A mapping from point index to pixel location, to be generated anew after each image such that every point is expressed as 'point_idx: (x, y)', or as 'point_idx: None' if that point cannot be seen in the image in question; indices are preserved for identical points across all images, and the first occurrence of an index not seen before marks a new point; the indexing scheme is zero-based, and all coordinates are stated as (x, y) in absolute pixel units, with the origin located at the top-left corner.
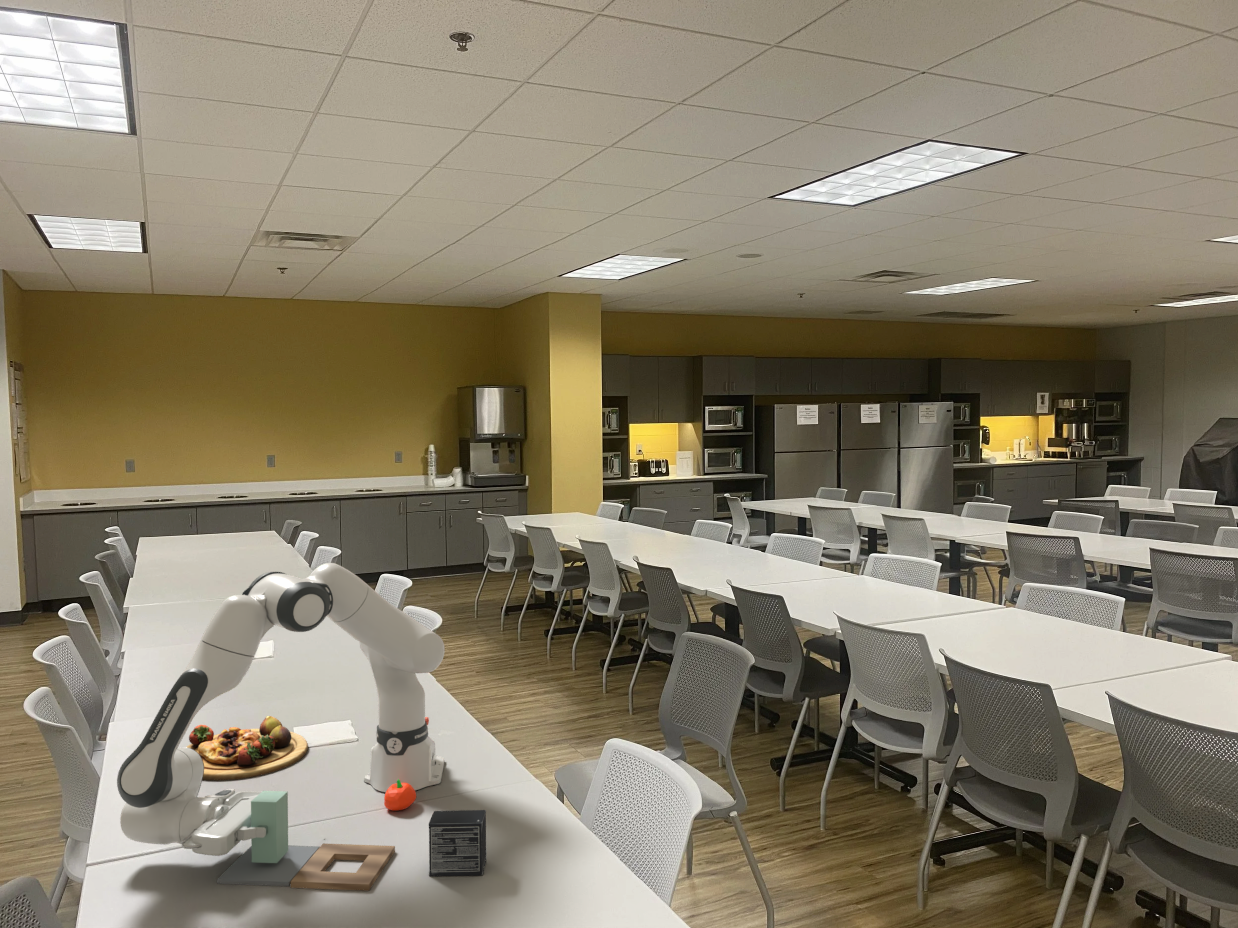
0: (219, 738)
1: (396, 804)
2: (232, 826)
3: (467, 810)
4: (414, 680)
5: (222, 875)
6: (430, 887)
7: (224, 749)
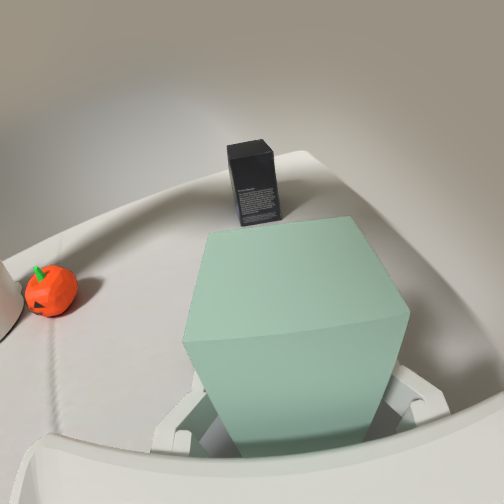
0: None
1: (74, 287)
2: (479, 425)
3: (228, 149)
4: None
5: None
6: (307, 212)
7: None
